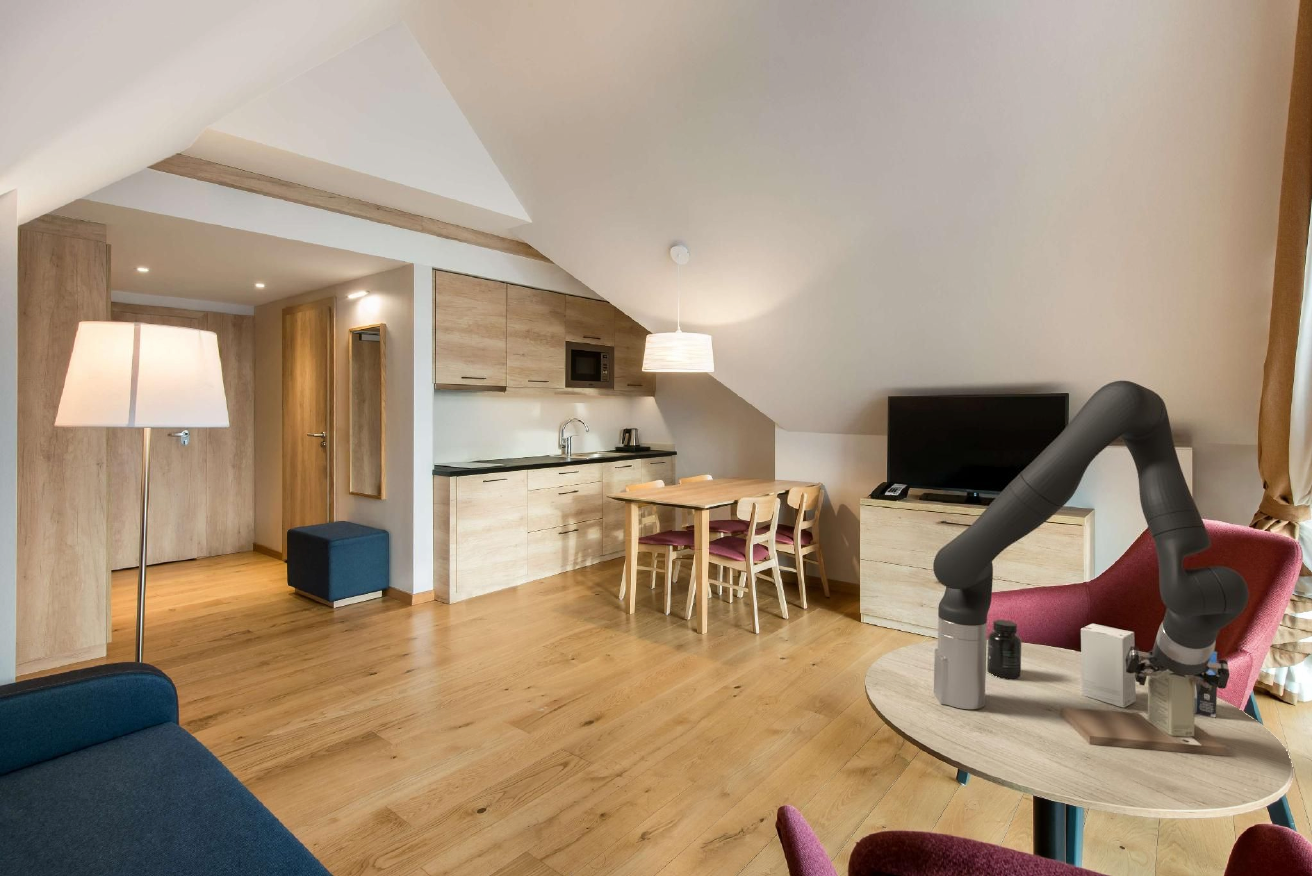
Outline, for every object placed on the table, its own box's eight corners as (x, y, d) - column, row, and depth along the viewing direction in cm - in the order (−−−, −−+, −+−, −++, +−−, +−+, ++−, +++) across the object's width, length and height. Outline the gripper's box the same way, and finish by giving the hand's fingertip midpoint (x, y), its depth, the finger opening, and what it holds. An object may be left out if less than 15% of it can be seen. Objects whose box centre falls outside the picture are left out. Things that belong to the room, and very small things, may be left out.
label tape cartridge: (1159, 705, 134) (1161, 646, 134) (1160, 699, 137) (1162, 641, 137) (1216, 718, 129) (1218, 657, 128) (1215, 711, 132) (1217, 651, 131)
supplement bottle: (983, 667, 154) (984, 617, 154) (1014, 669, 153) (1016, 619, 152) (992, 678, 148) (993, 626, 147) (1025, 681, 146) (1026, 628, 146)
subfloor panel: (1089, 744, 118) (1089, 735, 118) (1060, 714, 130) (1060, 706, 130) (1227, 756, 114) (1227, 746, 114) (1184, 724, 126) (1184, 715, 126)
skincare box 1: (1135, 702, 136) (1138, 632, 135) (1123, 709, 132) (1125, 637, 132) (1091, 688, 143) (1093, 621, 142) (1078, 694, 139) (1080, 626, 139)
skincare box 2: (1195, 737, 118) (1197, 670, 117) (1170, 736, 118) (1173, 670, 117) (1168, 720, 124) (1170, 657, 124) (1145, 720, 124) (1147, 657, 124)
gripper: (1235, 630, 110) (1215, 674, 120) (1131, 616, 117) (1121, 659, 127) (1242, 672, 105) (1221, 714, 116) (1134, 655, 112) (1123, 696, 123)
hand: (1169, 685), depth 121 cm, fingers open, 8 cm apart
